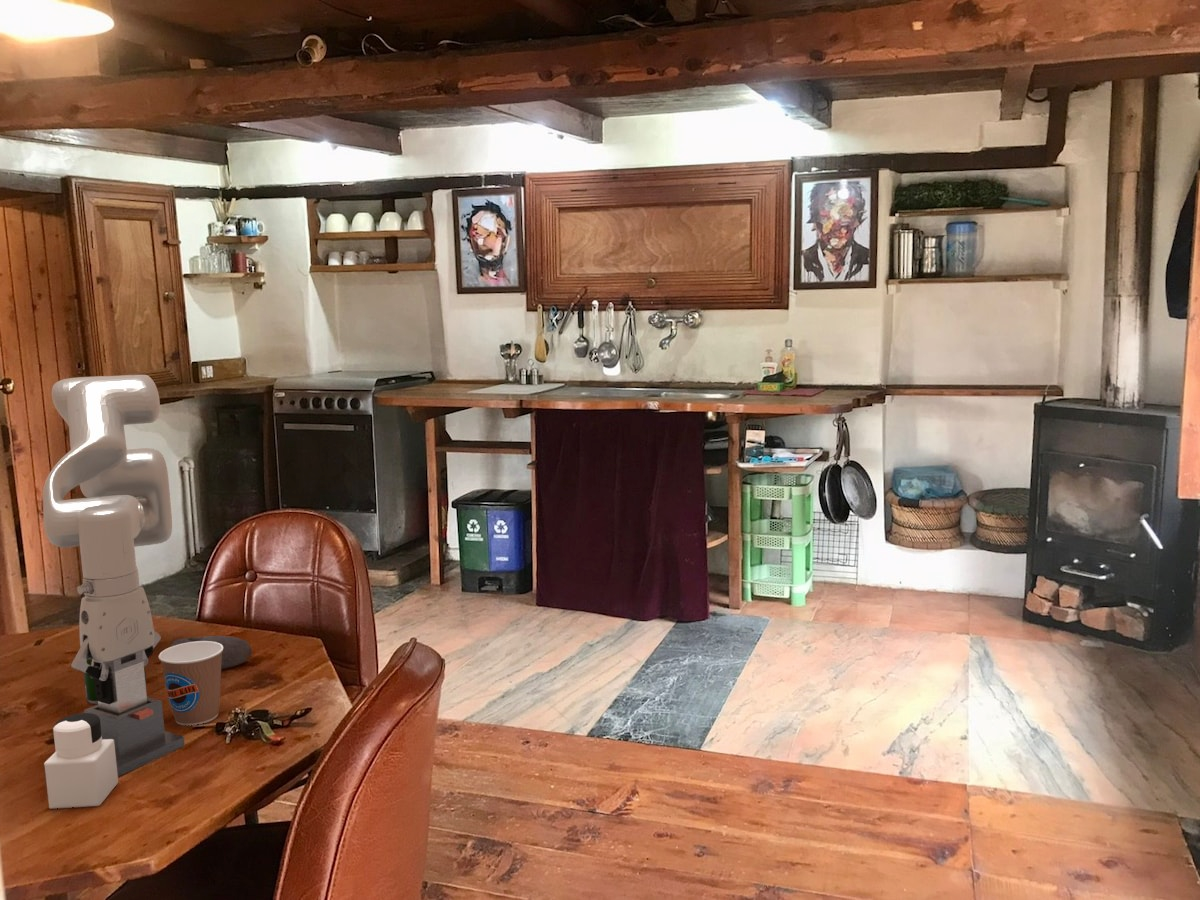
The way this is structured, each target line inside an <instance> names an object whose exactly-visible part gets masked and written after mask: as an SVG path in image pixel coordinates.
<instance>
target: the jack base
mask: <svg viewBox="0 0 1200 900" xmlns="http://www.w3.org/2000/svg"><path fill="white" fill-rule="evenodd" d="M83 713H91V714H95V715H97V716H98V717H99V718H100V724H101V734H102V740H103V739H113V740H114V744H115V754H116V764H117V774H118V778H119V777H120V776H123V775H125V774H127V773H130V772H131V771H134V770H136V769H138V768H140V767H142V766H144V765H147V764H149V763H150V762H153V761H155V760H157V759H159V758H161V757H164V756H165V755H168V754H170V753H172V752H175V751H176V750H178V749H179V750H180V748H183V747H185V746H186V743H185V736H182V735H179V734H175V733H172V732H169V731H166V730H165V723H164V722H165V721H164V712H163V702H162V700H159V699H156V698H152V697H148V696H147V704H146V705H144V706H141V707H139V708H136V709H134V710H131V711H129V712H126V713H124V714H122V715H119V716H116V715H113V714H110V713H106V712H103V711H100V710H99V705H98V704H94V705H93V706H91V707H88V708H85V709H83Z"/></svg>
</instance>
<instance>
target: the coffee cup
mask: <svg viewBox="0 0 1200 900" xmlns="http://www.w3.org/2000/svg"><path fill="white" fill-rule="evenodd" d="M222 651H223V645H222V644H220V643H217V642H212V641H195V642H188V643H183V644H179V645H175V646H172V647H171V646H170V647H168V648H165V649H164V650H162V651H161V652H160V653H159V654H158V659H159V661H161V667H162V671H163V672H162V673H163V675H164V682H165V688H166V692H167V696H168V701H169V704H170V707H171V710H172V715H173V717H174V721H175V722H176V723H177V724H178V725H180V726H185V725H186V727H189V726H190V727H191V725H192V726H197V724H199V725H203V723H204V724H206V723H209V722H212V721H213V720H215V719H216V718H217V717H218V716H219V711H220V710H219V709H220V704H221V703H220V702H221V681H222V680H221V678H222V669H221V660H222ZM188 725H189V726H188Z"/></svg>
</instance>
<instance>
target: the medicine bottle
mask: <svg viewBox="0 0 1200 900" xmlns="http://www.w3.org/2000/svg"><path fill="white" fill-rule="evenodd" d="M52 731H53V739H54V741H53V742H54V748H55V751H54V753H53V754H52V755H50V757H48V758H47V759H46V761H45V762H44V763H43V767H44V768H43V769H44V776H45V785H46V794H47V795H46V796H47V802H48V803H47V804H48V808H49V809H51V810H56V809H57V808H58V809H70V808H71V809H73V808H72V807H74V808H90V807H99V806H101V805H102V803H103V802H104V801H105V800H106V799H107V797H108V796H109V795H110V794H111V792H112V791H113V789H114V788H115V787H116V786H117V785H118V783H119V777H118V774H117V764H116V754H115V744H114V740H113V739H103V740H102V734H101V724H100V718H99V717H98V716H97V715H95V714H91V713H84V712H79V713H74V714H71V715H68V716H67V715H66V716H65V717H62V718H61V719H59V720H58V721H57V722H55V724H54V725H53V726H52Z"/></svg>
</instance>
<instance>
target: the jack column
mask: <svg viewBox="0 0 1200 900" xmlns="http://www.w3.org/2000/svg"><path fill="white" fill-rule="evenodd" d="M100 665H101V664H100ZM108 678H109V679H111V681H112V691H113V703H112V704H106V703H102V702H99V701H98V704H97V705H99V710H100V711H103V712H106V713H110V714H113V715H116V716H119V715H122V714H124V713H126V712H129V711H131V710H134V709H136V708H139V707H141V706H144V705H146V704H147V697H148V695H147V684H145V673H144V663H143V652H142V651H140V652H137V653H135V654H132V655H129V656H127V657H124V658H120V659H117V660H115V661H112V662H109V672H108Z"/></svg>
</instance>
